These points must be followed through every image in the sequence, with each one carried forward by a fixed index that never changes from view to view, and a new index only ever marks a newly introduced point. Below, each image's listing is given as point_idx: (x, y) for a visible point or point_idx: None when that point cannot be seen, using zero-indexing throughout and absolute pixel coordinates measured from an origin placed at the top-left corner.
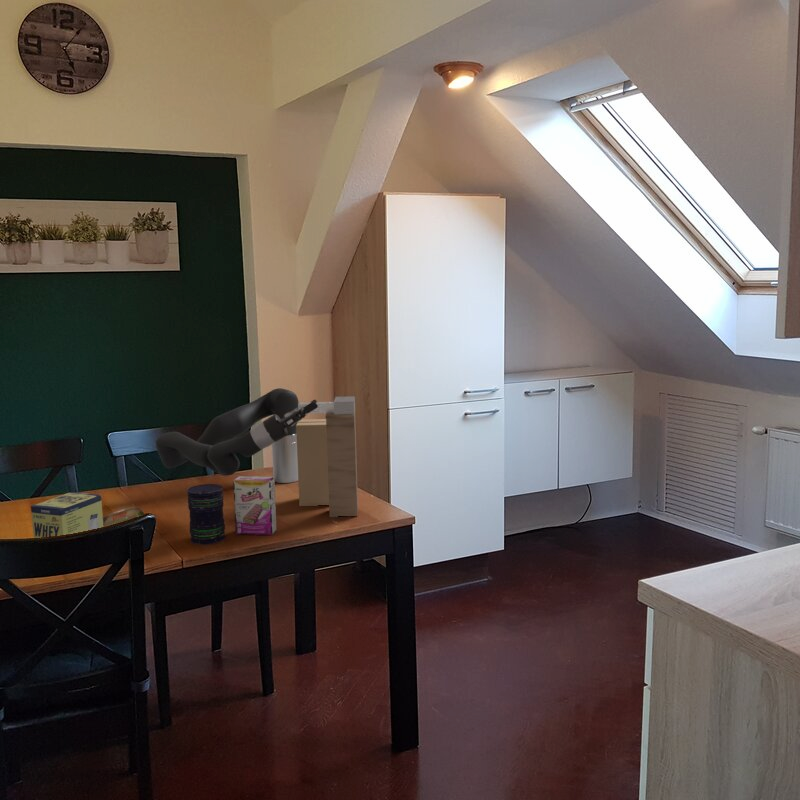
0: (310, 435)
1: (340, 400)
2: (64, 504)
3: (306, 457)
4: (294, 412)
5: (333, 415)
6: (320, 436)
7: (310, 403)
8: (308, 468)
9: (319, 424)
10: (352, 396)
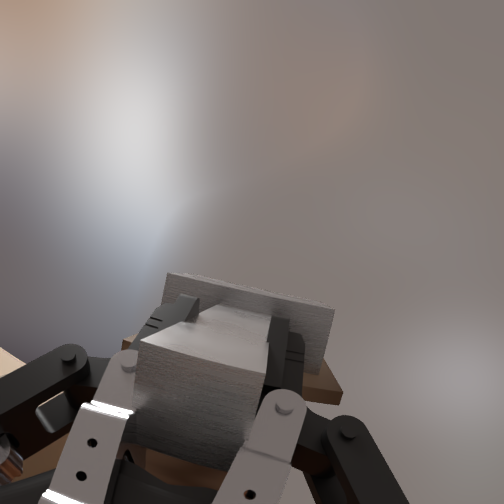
0: None
1: (293, 299)
2: None
3: None
4: (281, 488)
5: (329, 377)
6: (52, 465)
7: (287, 337)
8: None
9: None
10: (194, 274)
